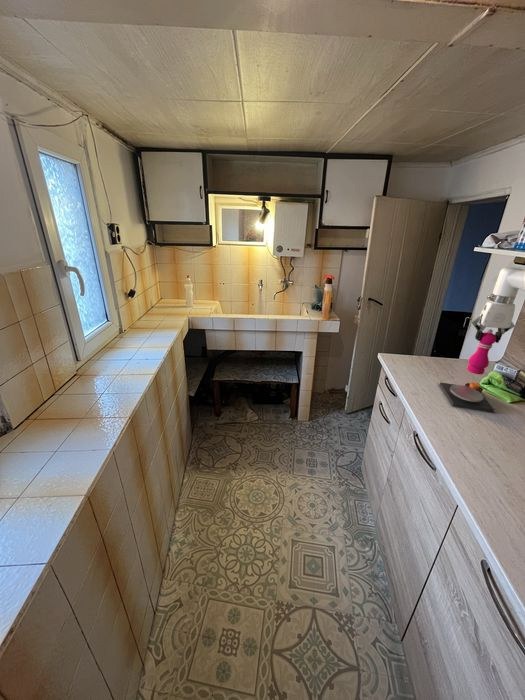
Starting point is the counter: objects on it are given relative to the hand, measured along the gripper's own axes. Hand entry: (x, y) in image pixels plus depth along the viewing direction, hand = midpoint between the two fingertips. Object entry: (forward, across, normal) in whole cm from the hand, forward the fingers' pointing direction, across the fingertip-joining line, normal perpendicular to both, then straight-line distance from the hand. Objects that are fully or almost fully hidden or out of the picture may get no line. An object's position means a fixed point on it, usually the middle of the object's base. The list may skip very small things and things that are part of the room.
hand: (486, 340), depth 121 cm
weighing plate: (+16, -11, -21) cm, 28 cm away
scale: (+19, -10, -18) cm, 28 cm away
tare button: (+17, -5, -14) cm, 22 cm away
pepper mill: (+15, 0, 0) cm, 15 cm away
